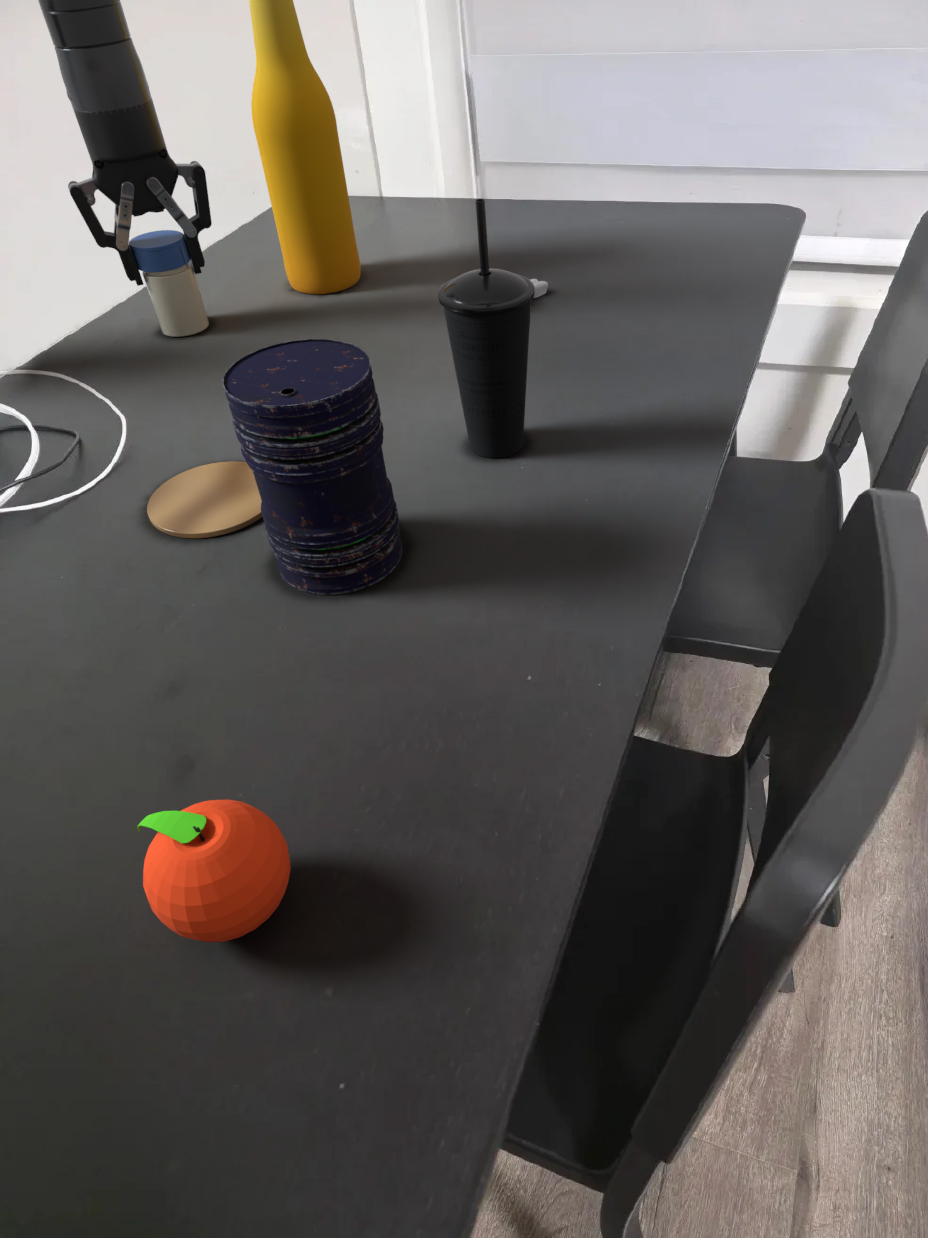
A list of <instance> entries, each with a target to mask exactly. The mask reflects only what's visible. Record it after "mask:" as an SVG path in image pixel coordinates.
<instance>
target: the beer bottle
mask: <svg viewBox="0 0 928 1238" xmlns="http://www.w3.org/2000/svg"><path fill="white" fill-rule="evenodd" d="M248 2H249V4H248V5H249V12H250V19H251V28H252V35H253V43H254V50H255V73H254V79H253V83H252V92H251V101H250V107H251V109H250V110H251V120H252V126H253V130H254V135H255V139H256V143H257V147H258V152H259V156H260V162H261V165H262V171H263V174H264V178H265V183H266V187H267V191H268V196H269V201H270V205H271V209H272V214H273V219H274V222H275V227H276V231H277V235H278V236H277V237H278V240H279V245H280V249H281V254H282V255H281V256H282V259H283V265H284V270H285V274H286V278H287V280H288V283H289V285H290V286H291V287H292V288H293V290H295V291H296V292H299V293H302V294H307V295H327V294H334V293H339V292H341V291H345V290H347V289H349V288H352V287H353V286H355V285H356V284H357V283H358V282H359V280H360V279H361V271H362V270H361V260H360V255H359V249H358V244H357V240H356V233H355V229H354V228H355V227H354V222H353V217H352V216H353V215H352V210H351V204H350V197H349V192H348V185H347V180H346V179H347V178H346V174H345V168H344V162H343V157H342V150H341V149H342V148H341V143H340V137H339V131H338V125H337V124H338V123H337V119H336V113H335V109H334V106H333V103H332V100H331V97H330V95H329V93H328V91H327V89H326V87H325V84H324V83H323V80H322V79H321V77H320V76H319V74H318V73H317V71H316V69H315V67H314V66H313V63H312V61H311V60H310V57H309V54H308V51H307V47H306V43H305V39H304V37H303V33H302V30H301V26H300V23H299V18H298V14H297V10H296V6H295V2H294V0H248Z"/></svg>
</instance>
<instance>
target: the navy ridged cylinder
mask: <svg viewBox="0 0 928 1238" xmlns="http://www.w3.org/2000/svg"><path fill="white" fill-rule="evenodd" d="M373 374H374V373H373V368H372V361H371V357H370V356H369V354H368V353H367V352H366V351H365V349H363V348H361V347H359V346H358V345H355V344H353V343H350V342H347V341H343V340H337V339H331V338H330V339H328V338H305V339H304V338H303V339H296V340H289V341H282V342H278V343H274V344H271V345H268V346H264V347H261V348H259V349H257V350H254V351H252V352H250V353H247V354H246V355H244V356H242V357H240V358H239V359H237V360H236V361H235V362H233V363H232V364H231V365H230V366H229V367H228V368H227V370H226V371H225V372H224V375H223V377H222V382H221V383H222V387H223V390H224V393H225V397H226V400H227V401H228V407H229V410H230V413H231V417H232V420H231V421H232V425H233V428H234V432H235V435H236V438H237V441H238V442H239V444H240V451H241V455H242V458H243V459H244V460H245V462H246V463H247V464H248V466H249V467H250V469H252V471H253V474H254V477H255V480H256V484H257V487H258V490H259V494H260V497H261V500H262V502H261V512H262V516H263V517H262V519H263V523H264V527H265V528H264V530H265V533H266V537H267V539H268V543H269V546H270V548H271V550H272V551H273V554H274V557H275V559H276V564H277V567H278V571H279V573H280V574H279V575H280V576H281V577H282V579H283V581H285V582H286V583H287V584H288V585H290V586H291V587H293V588H295V589H297V590H299V591H301V592H304V593H308V594H312V595H313V594H314V595H321V596H322V595H323V596H331V595H333V596H334V595H344V594H349V593H353V592H358V591H361V590H363V589H366V588H368V587H371V586H373V585H374V584H376V583H379V582H380V581H382V580H383V579H385V578H386V577H388V576H389V574H391V573H392V572H393V571H394V570H395V568H396V567H397V566H398V564H399V563H400V561H401V559H402V555H403V544H402V539H401V536H400V526H399V525H400V517H399V512H398V505H397V502H396V500H395V495H394V491H393V485H392V482H391V481H390V478H389V477H388V474H387V469H386V463H385V457H384V451H383V443H384V429H385V428H384V423H383V421H382V420H381V416H382V411H381V406H380V400H379V396H378V393H377V391H376V385H375V381H374V378H373Z"/></svg>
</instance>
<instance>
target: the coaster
mask: <svg viewBox="0 0 928 1238" xmlns="http://www.w3.org/2000/svg"><path fill="white" fill-rule="evenodd" d="M261 502H262V500H261V497H260V494H259V490H258V487H257V484H256V480H255V477H254V474H253V471H252V469H250V467H249V466H248V464H247V463H246V461H237V460H236V461H233V460H232V461H218V462H212V463H207V464H202V465H199V466H196V467H195V466H194V467H193V468H190V469H187V470H185V471H182V472H180V473H178V474H176V475H174V476H173V477H171V478H169V479H168V480H166V481H164V482H163V483H162V484H161V485H160V486H159V487H158V488H156V489H155V490H154V492H153V493H152V495H150V497H149V499H148V502H147V506H146V513H147V516H148V518H149V521H150V522H151V524H152V526H153V527H155V529H157V530H158V531H160V532H161V533H164V534H166V535H168V536H172V537H176V538H182V539H206V538H214V537H219V536H223V535H227V534H230V533H234V532H236V531H237V532H238V531H239V530H242V529H244V528H247V527H248V526H250V525H253V524H254V523H255V522H257V521H259V520H260V519H263V516H262V512H261Z"/></svg>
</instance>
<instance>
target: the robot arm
mask: <svg viewBox="0 0 928 1238" xmlns="http://www.w3.org/2000/svg"><path fill="white" fill-rule="evenodd" d="M37 2H38V4H39V7H40V10H41V13H42V17H43V18H44V22H45V24H46V28H47V30H48V32H49V36H50V38H51V41H52V44H53V46H54V51H55V54H56V58H57V62H58V66H59V71H60V75H61V79H62V81H63V84H64V87H65V90H66V96H67V98H68V100H69V102H70V104H71V108H72V109H73V113H74V116H75V118H76V121H77V124H78V127H79V130H80V132H81V135H82V139H83V141H84V144H85V146H86V149H87V153H88V155H89V158H90V161H91V164H92V174H91V177H90V178H87V179H84V180H82V181H79V182H77V181H75V180H70V181H69V183H68V185H67V188H68V191H69V194H70V196H71V198H72V200H73V202H74V204H75V206H76V207H77V209H78V211H79V213H80V215H81V217H82V219H83V221H84V222H85V224H86V227H87V228H88V230H89V232H90V233H91V235H92V237H93V239H94V241H95V243H96V244H97V246H98V247H100V248H102V249H105V248H110V249H114V250H115V251H116V252H117V253H118V255H119V259H120V261H121V264H122V266H123V269H124V272H125V275H126V277H127V278H128V280H129V281H130V282H135V284H136V286H138V287H139V286H145V283H144V281H143V278H142V275H141V272H140V270H139V269H138V266H137V263H136V260H135V257H134V255H133V252H132V249H131V248H130V246H129V241H130V234H131V233H130V232H131V228H132V217H134V218H135V217H141V216H144V215H145V214H147V213H156V214H157V213H162V212H165V211H164V210H166V211H167V212H168V214H169V215H170V216H171V217H172V218H173V220H174V221H175V222H176V223H177V225H178V226H179V227H180V228H181V230H182V233H183V234H184V238H185V242H186V245H187V248H188V252H189V255H190V258H191V260H190V261H189V263H191V265H192V267H193V271H194V274H195V275H199V274H203V271H202V269H201V268H204V267H205V264H206V263H205V262H206V260H205V258H204V253H203V251H202V247H201V244H200V241H199V234H200V233H201V232H202V231H204V230H205V229H209V228H211V227H212V224H213V223H212V222H213V221H212V215H211V207H210V200H209V191H208V184H207V176H206V170H205V168H204V167H203V165H201V164H200V163H199V161H196V160H192V161H191V162H190V163H175V161H174V160H173V158H172V157H171V156H170V153H169V151H168V149H167V144H166V141H165V138H164V135H163V131H162V127H161V124H160V121H159V117H158V114H157V110H156V107H155V104H154V100H153V98H152V95H151V90H150V85H149V83H148V80H147V77H146V73H145V70H144V68H143V67H144V66H143V63H142V62H141V59H140V56H139V54H138V52H137V50H136V46H135V44H134V42H133V39H132V38H133V37H131V36H132V35H131V32H130V28H129V25H128V22H127V19H126V16H125V11H124V8H123V5H122V1H121V0H37ZM179 177H182V178H183V180H184V183H185V184H186V185H187V186H188V188H191V189H192V194H193V195H192V197H193V203H194V204H193V205H194V211H195V214H194V215H192V216H191V217H190V218H189V217H188V216H187V214H186V213H185V212H184V210H183V209H182V207H180V205H179V204H178V203H177V202H176V200H175V199H174V197H173V194H174V191H175V188H176V185H177V182H178V179H179ZM97 190H98V191H99V192H100V193H101V194H103V195H104V196H105V197H106V198H107V199H108V200H109V201H111V202H112V203H113V204H114V217H113V218H114V225H113V232H112V231H105V230H104V228H103V226H102V224H101V222H100V220H99V218H98V216H97V214H96V212H95V210H94V208H93V207H92V206H94V205H95V204H96V202H97V201H96V197H95V193H96V191H97Z"/></svg>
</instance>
